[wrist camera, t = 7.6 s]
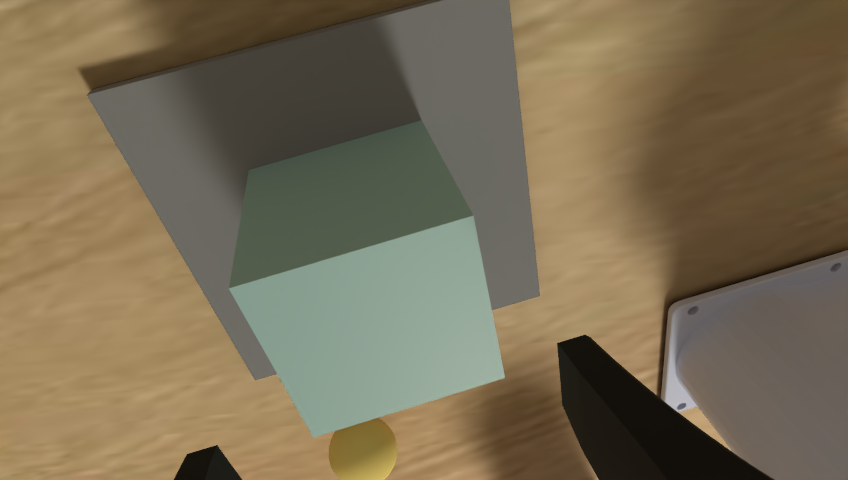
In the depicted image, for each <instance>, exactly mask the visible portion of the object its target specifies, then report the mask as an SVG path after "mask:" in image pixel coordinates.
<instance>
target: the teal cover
mask: <svg viewBox="0 0 848 480" xmlns="http://www.w3.org/2000/svg"><path fill="white" fill-rule="evenodd" d="M229 290H230V292H231V294H232V295H233V297H234V299H235V301H236V302H237V304H238V306H239V308H240V309H241V311H242V313H243V315H244V316H245V318H246V320H247V322H248V323H249V325H250V327H251V329H252V330H253V332H254V334H255V336H256V337H257V339H258V341H259V343H260V345H261V346H262V348H263V350H264V352H265V353H266V355H267V357H268V359H269V360H270V362H271V364H272V366H273V367H274V369H275V371H276V373H277V374H278V376H279V378H280V380H281V381H282V383H283V385H284V387H285V388H286V390H287V392H288V394H289V396H290V397H291V399H292V401H293V403H294V404H295V406H296V408H297V410H298V411H299V413H300V415H301V417H302V418H303V420H304V422H305V424H306V425H307V427H308V429H309V431H310V432H311V434H312V436H313V438H314V437H318V436H321V435H324V434H327V433H330V432H334V431H337V430H340V429H343V428H346V427H350V426H353V425H356V424H359V423H362V422H366V421H369V420H372V419H375V418H378V417H382V416H385V415H388V414H391V413H394V412H398V411H401V410H404V409H407V408H410V407H414V406H417V405H420V404H423V403H426V402H430V401H433V400H436V399H439V398H442V397H446V396H449V395H452V394H455V393H459V392H462V391H465V390H468V389H471V388H475V387H478V386H481V385H484V384H487V383H491V382H494V381H497V380H500V379H503V378H505V375H504V370H503V365H502V360H501V355H500V349H499V344H498V339H497V334H496V329H495V324H494V319H493V314H492V308H491V303H490V298H489V293H488V288H487V283H486V278H485V272H484V267H483V262H482V257H481V252H480V247H479V242H478V236H477V231H476V226H475V221H474V216H473V214H472V212H471V210H470V208H469V206H468V205H467V203H466V201H465V199H464V197H463V195H462V194H461V192H460V190H459V188H458V186H457V184H456V183H455V181H454V179H453V177H452V175H451V173H450V172H449V170H448V168H447V166H446V164H445V162H444V161H443V159H442V157H441V155H440V153H439V151H438V150H437V148H436V146H435V144H434V142H433V140H432V138H431V137H430V135H429V133H428V131H427V129H426V127H425V126H424V124H423V122H422V120H420V121H417V122H413V123H410V124H406V125H403V126H399V127H396V128H393V129H389V130H386V131H382V132H379V133H375V134H372V135H368V136H365V137H361V138H358V139H355V140H351V141H348V142H344V143H341V144H337V145H334V146H330V147H327V148H323V149H320V150H316V151H313V152H310V153H306V154H303V155H299V156H296V157H292V158H289V159H285V160H282V161H278V162H275V163H272V164H268V165H265V166H261V167H258V168H254V169H251V170H249V171H248V177H247V183H246V189H245V195H244V201H243V207H242V213H241V219H240V225H239V230H238V236H237V242H236V248H235V254H234V260H233V266H232V272H231V278H230V284H229Z"/></svg>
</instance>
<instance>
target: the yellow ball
mask: <svg viewBox="0 0 848 480" xmlns="http://www.w3.org/2000/svg"><path fill="white" fill-rule="evenodd" d="M396 458H397V443H396V439H395V436H394V434H393V432H392V430H391V429H390V427H389V426H388V425H387V424H386V423H385V422H383V421H382V420H380V419H379V418H375V419H372V420H369V421H366V422H362V423H359V424H356V425H353V426H350V427H346V428H343V429H340V430H337V431H335V433H334V434H333V436H332V439H331V442H330V446H329V461H330V465H331V468H332V470H333V472H334V473H335V475H336V476H337V477H338V478H339V479H340V480H384V479H385V478H386V477H387V476H388V475H389V474H390V472H391V471H392V469H393V467H394V464H395V462H396Z"/></svg>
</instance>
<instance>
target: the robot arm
mask: <svg viewBox="0 0 848 480" xmlns="http://www.w3.org/2000/svg"><path fill="white" fill-rule="evenodd" d="M557 346H558V357H559V369H560V381H561V392H562V404H563V407H564V409H565V412H566V414H567V416H568V419H569V421H570V423H571V426H572V428H573V430H574V432H575V435H576V437H577V439H578V441H579V444H580V446H581V448H582V450H583V452H584V454H585V456H586V458H587V459H588V461H589V463H590V465H591V466H592V468H593V470H594V472H595V473H596V475H597V477H598V479H599V480H848V250H846V251H843V252H840V253H836V254H833V255H830V256H826V257H823V258H820V259H816V260H813V261H810V262H806V263H803V264H800V265H797V266H793V267H790V268H787V269H783V270H780V271H777V272H773V273H770V274H767V275H763V276H760V277H757V278H753V279H750V280H747V281H743V282H740V283H737V284H733V285H730V286H727V287H723V288H720V289H717V290H713V291H710V292H707V293H703V294H700V295H697V296H693V297H690V298H687V299H684V300H680V301H677V302H675V303H674V304H672V305H671V307H670V308H669V311H668V320H667V331H666V343H665V355H664V367H663V379H662V391H661V399H660V398H659V397H658V396H657V395H655V394H654V393H653V392H652V391H650V390H649V389H648V388H647V387H646V386H644V385H643V384H642V383H641V382H640V381H638V380H637V379H636V378H635V377H634V376H633V375H631V374H630V373H629V372H628V371H627V370H626V369H624V368H623V367H622V366H621V365H620V364H619V363H618V362H616V361H615V360H614V359H613V358H612V357H611V356H610V355H609V354H608V353H606V352H605V351H604V350H603V349H602V348H601V347H600V346H599V345H598V344H597V343H596V342H595V341H594V340H593V339H591V338H590V337H589V336H587V335H583V336H580V337H576V338H573V339H570V340H566V341H563V342H560V343H557ZM697 406H698V408H699V409H700V410H701V411H702V413H703V414H704V415H705V417H706V418H707V419H708V420H709V422H710V423H711V424H712V426H713V427H714V428H715V429H716V431H717V432H718V433H719V435H720V436H721V437H722V438H723V440H724V441H725V442H726V444H727V445H728V446H729V447H730V449H731V450H732V451H733V452H732V451H730V450H729V449H727V448H726V447H724V446H723V445H722V444H720V443H719V442H717V441H716V440H715V439H713V438H712V437H710V436H709V435H708V434H706V433H705V432H703V431H702V430H701V429H699V428H698V427H697V426H695V425H694V424H693V423H691V422H690V421H689V420H687V419H686V418H685V417H683V416H682V415H681V414H679V413H678V412H681V411H684V410H688V409H691V408H694V407H697ZM174 480H242V479H241V478H240V476H239V475H238V473H237V472H236V471H235V469H234V468H233V467H232V465H231V464H230V462H229V461H228V460H227V458H226V457H225V456H224V454H223V453H222V451H221V450H220V449H219V447H218V446H217V445H216V446H213V447H209V448H206V449H203V450H199V451H196V452H193V453H189V454H187V456H186V457H185V459H184V461H183V463H182V465H181V467H180V469H179V471H178V472H177V474H176V476H175V478H174Z"/></svg>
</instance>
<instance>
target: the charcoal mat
mask: <svg viewBox="0 0 848 480" xmlns="http://www.w3.org/2000/svg"><path fill="white" fill-rule="evenodd" d="M87 96H88V98H89V99H90V101H91V103H92V104H93V106H94V108H95V109H96V111H97V113H98V115H99V116H100V118H101V120H102V121H103V123H104V125H105V126H106V128H107V130H108V132H109V133H110V135H111V137H112V138H113V140H114V142H115V143H116V145H117V147H118V149H119V150H120V152H121V154H122V155H123V157H124V159H125V160H126V162H127V164H128V165H129V167H130V169H131V171H132V172H133V174H134V176H135V177H136V179H137V181H138V182H139V184H140V186H141V188H142V189H143V191H144V193H145V194H146V196H147V198H148V199H149V201H150V203H151V205H152V206H153V208H154V210H155V211H156V213H157V215H158V216H159V218H160V220H161V221H162V223H163V225H164V227H165V228H166V230H167V232H168V233H169V235H170V237H171V238H172V240H173V242H174V244H175V245H176V247H177V249H178V250H179V252H180V254H181V255H182V257H183V259H184V261H185V262H186V264H187V266H188V267H189V269H190V271H191V272H192V274H193V276H194V277H195V279H196V281H197V283H198V284H199V286H200V288H201V289H202V291H203V293H204V294H205V296H206V298H207V300H208V301H209V303H210V305H211V306H212V308H213V310H214V311H215V313H216V315H217V317H218V318H219V320H220V322H221V323H222V325H223V327H224V328H225V330H226V332H227V333H228V335H229V337H230V339H231V340H232V342H233V344H234V345H235V347H236V349H237V350H238V352H239V354H240V356H241V357H242V359H243V361H244V362H245V364H246V366H247V367H248V369H249V371H250V373H251V374H252V376H253V378H254V379H255V380H258V379H261V378H265V377H268V376H271V375H275V374H277V373H276V371H275V369H274V367H273V366H272V364H271V362H270V360H269V359H268V357H267V355H266V353H265V352H264V350H263V348H262V346H261V345H260V343H259V341H258V339H257V337H256V336H255V334H254V332H253V330H252V329H251V327H250V325H249V323H248V322H247V320H246V318H245V316H244V315H243V313H242V311H241V309H240V308H239V306H238V304H237V302H236V301H235V299H234V297H233V295H232V294H231V292H230V290H229V284H230V278H231V272H232V266H233V260H234V254H235V248H236V242H237V236H238V230H239V225H240V219H241V213H242V207H243V201H244V195H245V189H246V183H247V177H248V171H249V170H251V169H254V168H258V167H261V166H265V165H268V164H272V163H275V162H278V161H282V160H285V159H289V158H292V157H296V156H299V155H303V154H306V153H310V152H313V151H316V150H320V149H323V148H327V147H330V146H334V145H337V144H341V143H344V142H348V141H351V140H355V139H358V138H361V137H365V136H368V135H372V134H375V133H379V132H382V131H386V130H389V129H393V128H396V127H399V126H403V125H406V124H410V123H413V122H417V121H420V120H422V122H423V124H424V126H425V127H426V129H427V131H428V133H429V135H430V137H431V138H432V140H433V142H434V144H435V146H436V148H437V150H438V151H439V153H440V155H441V157H442V159H443V161H444V162H445V164H446V166H447V168H448V170H449V172H450V173H451V175H452V177H453V179H454V181H455V183H456V184H457V186H458V188H459V190H460V192H461V194H462V195H463V197H464V199H465V201H466V203H467V205H468V206H469V208H470V210H471V212H472V214H473V216H474V221H475V226H476V231H477V236H478V242H479V247H480V252H481V257H482V262H483V267H484V272H485V278H486V283H487V288H488V293H489V298H490V303H491V308H492V310H494V309H498V308H501V307H504V306H508V305H511V304H514V303H518V302H521V301H525V300H528V299H531V298H535V297H538V296H540V292H539V283H538V273H537V264H536V254H535V244H534V235H533V225H532V215H531V206H530V196H529V187H528V177H527V167H526V158H525V148H524V138H523V129H522V119H521V110H520V100H519V90H518V81H517V71H516V62H515V52H514V42H513V33H512V23H511V13H510V4H509V0H427V1H424V2H420V3H416V4H412V5H409V6H405V7H401V8H397V9H394V10H390V11H386V12H382V13H378V14H375V15H371V16H367V17H363V18H360V19H356V20H352V21H348V22H345V23H341V24H337V25H333V26H329V27H326V28H322V29H318V30H314V31H311V32H307V33H303V34H299V35H296V36H292V37H288V38H284V39H280V40H277V41H273V42H269V43H265V44H262V45H258V46H254V47H250V48H246V49H243V50H239V51H235V52H231V53H228V54H224V55H220V56H216V57H213V58H209V59H205V60H201V61H197V62H194V63H190V64H186V65H182V66H179V67H175V68H171V69H167V70H164V71H160V72H156V73H152V74H148V75H145V76H141V77H137V78H133V79H130V80H126V81H122V82H118V83H115V84H111V85H107V86H103V87H99V88H96V89H92V90H91V91H90V92H89V93H88V94H87Z"/></svg>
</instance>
